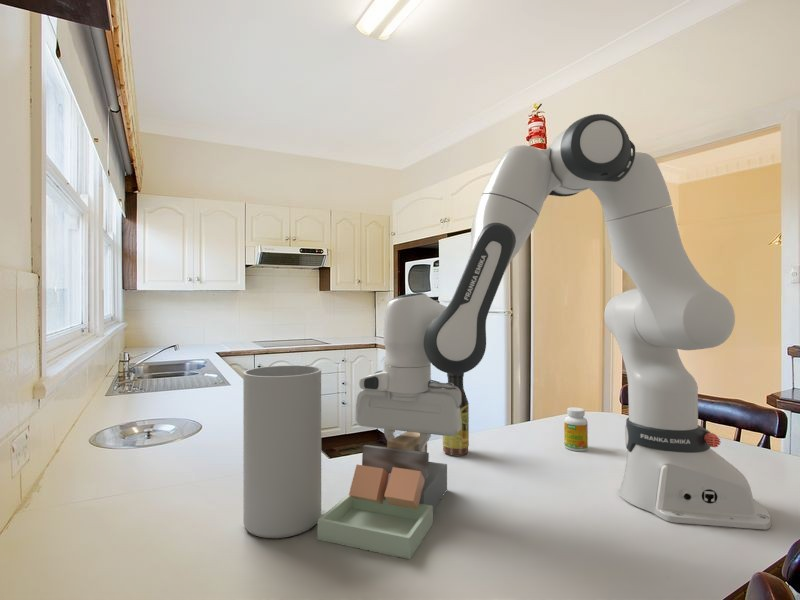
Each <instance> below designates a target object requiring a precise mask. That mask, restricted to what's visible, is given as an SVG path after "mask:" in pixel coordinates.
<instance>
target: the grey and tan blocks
mask: <svg viewBox="0 0 800 600" xmlns="http://www.w3.org/2000/svg"><path fill="white" fill-rule="evenodd" d="M422 440H423V439H421V438H420V433H417V432H408V431H404V433H402V434H400V435H398V436H395V438H394V439H392V440H390V441H387V442H386V443H387V444H386V447H385V446H379V445H378V446H377V445H372V444H371V445H370V444H364V445H362V453H361V454H362V456H361V460H362V461H361V465H363V466H370V467H376V468H383V469H384V470H386V471H387V472H388V473H391V471H392V468H393V467H396V468H403V469H409V470H416V471H421V473H422V475H423V477H424V479H426V478H427V477H428V465H429V462H430V461H429V457H430V456H429V455H430V453H429V452H428V443H427V444H426V445H425V452H419V451H414V447H415V446H416V445H417V444H419V445H420V444H421V442H422Z"/></svg>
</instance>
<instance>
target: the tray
mask: <svg viewBox="0 0 800 600" xmlns="http://www.w3.org/2000/svg"><path fill="white" fill-rule="evenodd" d="M433 521H434V509H433V506H431V505H425V504H419V506H418V510H417V509H412V508H406V507H401V506H396V505H390V504H389V503H388V502H387V500H386V499H385V498H384V499H383V503H382V504H380V503H374V502H369V501H364V500H358V499H355V498H353V497H351V496H350V495H349V493H348V494H347V495H346V496H344V497H343V498H341V500H340V501H338V502H337V503H336V504H335V505H334V506H332V507H331V508H330V509H329V510H327V511H326V513H324V514H323V515H321V517H320V518H319V519H318V522H317V540H318V541H323V542H328V543H333V544H337V545H342V546H347V547H351V548H354V549H359V548H360V550H364V551H368V550H369V552H373V551H374V553H377V552H378V554H382V555H383V554H384V555H387V556H392V557H397V558H401V559H406V560H410V559H411V558H412V556H413V554H414V553H416V551H417V549H418V547H419V546H420V545H421V543H422V542H423V540H424V539H425V537H426V535H427V533H429V531H430V530H431V528H432V526H433V525H432V524H434V522H433Z"/></svg>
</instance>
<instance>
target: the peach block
mask: <svg viewBox="0 0 800 600" xmlns="http://www.w3.org/2000/svg"><path fill="white" fill-rule="evenodd" d="M424 482H425V479H424V477H423V475H422V473H421V471H416V470H409V469H403V468H396V467H393V468H392V471H391V475H390V478H389V481H388V484H387V488H386V491H385V494H384V497H385V499H386V500H387V502H388V503H389V504H390V505H396V506H401V507H406V508H412V509H417V510H418V506H419V502H420V498H421V494H422V490H423V486H424Z"/></svg>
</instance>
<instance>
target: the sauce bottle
mask: <svg viewBox="0 0 800 600" xmlns="http://www.w3.org/2000/svg"><path fill="white" fill-rule="evenodd" d="M446 376H447V383H452V384H454V386H457V387H458V388H459V389H460V391H461V394H462V402H461V405H460V412H461V425H462V426H461V430H460V431H459V432H458V433H457V434H456V435H455V436H443V435H442V446H443V447H442V451H443V453H444V452H445V453H444V454H446V453H447V454H446V455H448V454H452V455H451V456H453V455H460V456H464V454H465V455H467V454H468V452H469V445H470V441H469V439H470V437H469V436H470V435H469V433H470V431H469V430H470V429H469V428H470V427H469V426H470V425H469V423H470V422H469V418H470V417H469V415H470V413H469V411H470V410H469V406H470V405H469V404H470V403H469V401H468V398H467V395H466V392H465V388H464V376H465V373H461V374H449V373H446ZM453 389H456V388H453ZM466 453H467V454H466Z"/></svg>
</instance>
